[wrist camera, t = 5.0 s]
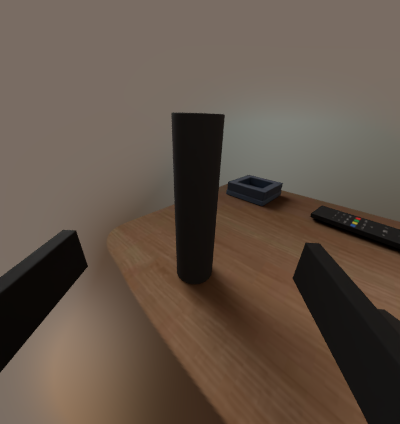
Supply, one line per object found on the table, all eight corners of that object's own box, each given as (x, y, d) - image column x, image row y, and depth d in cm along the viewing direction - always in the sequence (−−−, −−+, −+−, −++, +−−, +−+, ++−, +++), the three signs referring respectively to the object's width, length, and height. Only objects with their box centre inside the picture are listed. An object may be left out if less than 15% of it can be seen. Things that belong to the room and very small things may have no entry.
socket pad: (226, 194, 43) (227, 181, 42) (246, 185, 49) (248, 174, 48) (262, 206, 37) (265, 192, 36) (280, 195, 43) (283, 183, 42)
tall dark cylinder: (170, 269, 21) (160, 112, 14) (195, 254, 24) (199, 114, 16) (193, 290, 19) (196, 112, 11) (218, 271, 21) (235, 115, 14)
